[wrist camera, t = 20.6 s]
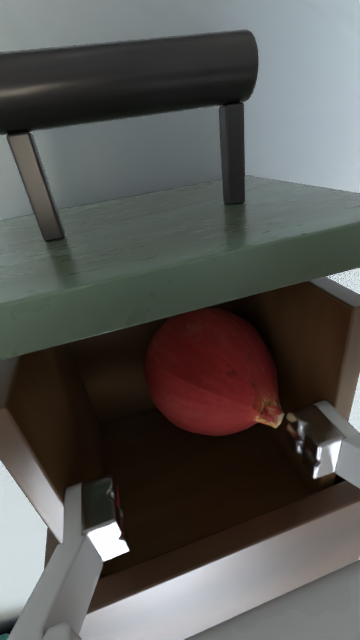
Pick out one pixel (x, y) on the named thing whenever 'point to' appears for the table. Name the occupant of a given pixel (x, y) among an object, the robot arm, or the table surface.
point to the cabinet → (226, 569)
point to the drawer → (161, 297)
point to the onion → (212, 373)
